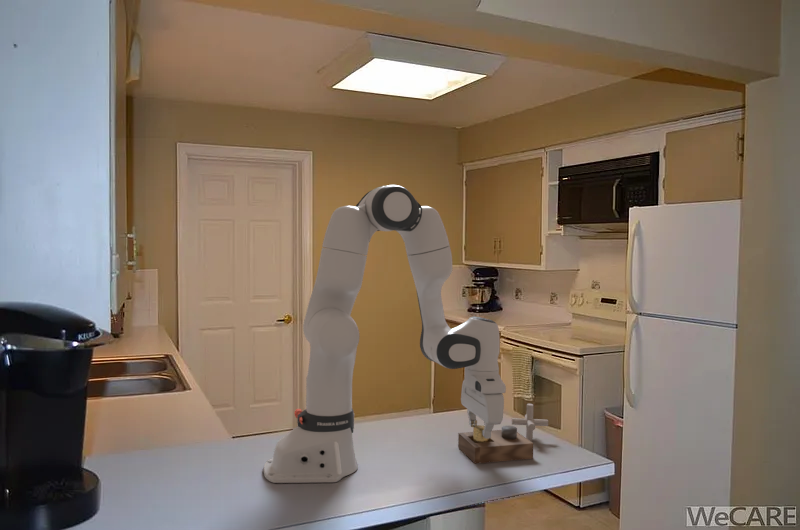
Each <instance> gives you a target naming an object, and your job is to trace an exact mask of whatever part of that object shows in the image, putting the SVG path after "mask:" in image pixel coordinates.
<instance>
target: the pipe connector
mask: <svg viewBox="0 0 800 530" xmlns="http://www.w3.org/2000/svg"><path fill="white" fill-rule="evenodd" d="M513 425H514V426H515V425H516V426H526V429H525V438H527V439H528V440H529V441H531V442H532V441H533V439H534V437H533V434H534V433H533V432H534V430H535V429H536V426H538V427H539V426H540V427H542V426H543V427H549V420H548V419H545V418H543V419H540V418H539V419H538V418H534V404H533V403H527V404H526V414H524V418H517V417H515V418H514V417H512V418H511V426H513Z"/></svg>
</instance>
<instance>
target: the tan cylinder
mask: <svg viewBox="0 0 800 530" xmlns="http://www.w3.org/2000/svg"><path fill="white" fill-rule="evenodd" d="M484 427H485V425H482V424H481V425H478V424H477V426H474V427H472V428H473V431H472V432H473V442H474V443H483V442H489V438H487V439H486V438H484V437H483V436H482V434H483V430H484Z"/></svg>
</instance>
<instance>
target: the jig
mask: <svg viewBox="0 0 800 530" xmlns="http://www.w3.org/2000/svg"><path fill="white" fill-rule="evenodd" d="M457 434H458V435H457V437H458V439H457V441H458V444H457V447H458V449H459V450H460V451H461V452H462V453H463V454H464V455H465V456H467V457H468V458H469V460H471V462H473V463H474V464H476V465H477V464H486V463H497V462H509V461H519V460H520V461H521V460H532V459H534V442H532V441H529V440H528V439H527V438H526V436H524V435H522V434H521V433H520V432H518V428H517V427H516V426H515V425H514V426H513V425H502V426H501V429H496V430H495V429H492V431H491V438H489V442H483V443H474V442H473V431H469V432H468V431H467V432H458V433H457Z"/></svg>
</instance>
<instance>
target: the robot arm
mask: <svg viewBox="0 0 800 530" xmlns="http://www.w3.org/2000/svg"><path fill="white" fill-rule="evenodd" d="M444 225H445V224H444V223H443V220H442V217H441V215H440V213H439V211H437V209H436V208H434V207H431V206H428V205H421V204H420V203H419V201H418V200H417V199H415V196H414V195H413V194H412V193H411V192H410V190H408V189H407V188H405V187H403V186H402V185H397V184H389V185H381V186H378V187H375V188H374V189H371V190H369V191H367V193H365V194H364V196H363V197H362V198H361V199H360V200H359V201H358V202H357V204H356V205H355V206H354V205H343V206H339V207H337V208H335V210H334V211H333V212H332V213H331V216H330V219H329V222H328V224H327V227H326V231H325V233H324V238H323V241H322V248H321V251H320V257H319V262H318V268H317V273H316V277H315V281H314V286H313V289H312V291H311V295H310V298H309V302H308V305H307V309H306V312H305V316H304V320H303V326H302V327H303V328H302V330H303V335H304V337H305V338H306V339H305V340H307V342H308V343H309V346H310V350H309V351H310V352H309V363H308V371H307V374H306V379H305V383H306V386H305V388H306V389H305V390H306V395H305V397H306V398H305V400H306V401H305V405H306V406H305V409H304V410H302V409H301V408H296V409H295V410H294V416H295V417H294V418H296V419H297V421H296V423H297V426H296V427H294V428H293V429H292V430H290V431H289V432H288V433H287V434H285V435H284V436H283V437H280V439H278V441H277V443H276V445H275V448H274V451H273V456H272V458H269V459H268V460H267V461H266V462H265V463H264V465H263V475H264V478H265V479H266V480H267V481H269V482H271V483H274V484H275V483H277V484H283V483H284V484H285V483H286V484H287V483H288V484H290V483H292V484H293V483H295V484H297V483H299V484H300V483H302V484H303V483H337V482H339V481H341V479H343V478H345V477H347V476H348V475H352V474H353V473H354V472H356V471H357V470H358V468H359V464H358V462H357V461H358V460H357V458H356V453H355V445H354V438H353V437H354V436H353V433H354V429H355V413H354V412H355V411H354V409H353V379H354V378H353V377H354V368H355V364H356V358H357V348H358V346H359V342H360V329H359V327H358V324H357V323H356V321H355V320H354V318H353V317H352V315H351V314H352V311H353V309H354V305H355V303H356V300H357V297H358V294H359V292H360V290H361V288H362V284H363V281H364V279H363V278H364V274H365V269H366V264H367V260H368V259H367V258H368V253H369V244H370V242H371V239H372V237H373V236H374V235H375V233H376V232H379V231H380V232H392V231H393V232H394V231H396V232H397V233H398V234H399V235H400V236H401V238H402V240H403V243H404V247H405V248H404V249H405V252H406V256H407V261H408V265H409V268H410V272H411V275H412V278H413V282H414V286H415V290H416V296H417V302H418V307H419V314H420V318H421V334H420V339H419V347H420V351H421V354H422V355H423V357H425V358H426V359H427V360H429V361H430V362H433V363H436V364H438V365H439V366H442V367H444V368H446V369H451V370H456V369H457V370H458V369H462V368H464V379H463V381H462V384H461V391H460V392H461V393H460V394H461V395H460V402H461V405H462V406H463V407H464V408H466V411H467V416H468V425H469V427H471V428H473V427H474V426H477V425H478V419H477V417H478V418H479V419H480V420H481V421H483V424H484V425H483V426H485V427H484V430H483V434H482V436H483V437H484V438H486V439H487V438H491V431H493V430H494V426H497V425H501V424H502V422H503V419H504V409H505V398H504V397H505V396H504V394H505V393H506V391H507V385H506V383H505V382H504V381H503V380H502V377H501V375H500V367H499V362H498V361H499V355H500V349H501V348H500V344H501V341H500V330H499V325H498V323H497V322H496V321H494V320H492V319H490V318H486V317H480V316H470V317H469V318H468V319H467V320H466V321H464V322H463V323H461V324H459V325H457V326H455V327H453V328H451V327H450V326H449V324H448V323H447V321H446V318H445V311H444V305H443V298H442V290H443V289H442V287H443V286H444V284H445V282H446V281H447V280H448V279H449V278H450V276H451V275H452V273H453V254H452V250H451V246H450V241H449V238H448V237H449V236H448V234H447V231H446V227H445V226H444Z"/></svg>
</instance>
